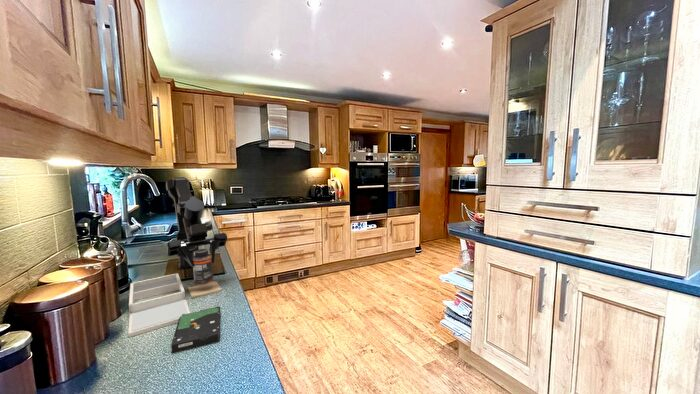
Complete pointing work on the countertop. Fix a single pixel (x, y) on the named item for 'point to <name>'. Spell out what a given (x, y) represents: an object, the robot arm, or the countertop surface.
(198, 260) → the supplement bottle
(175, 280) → the equipment case
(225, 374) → the countertop surface
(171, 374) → the countertop surface
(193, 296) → the cork mat
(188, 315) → the disk drive
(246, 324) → the countertop surface
